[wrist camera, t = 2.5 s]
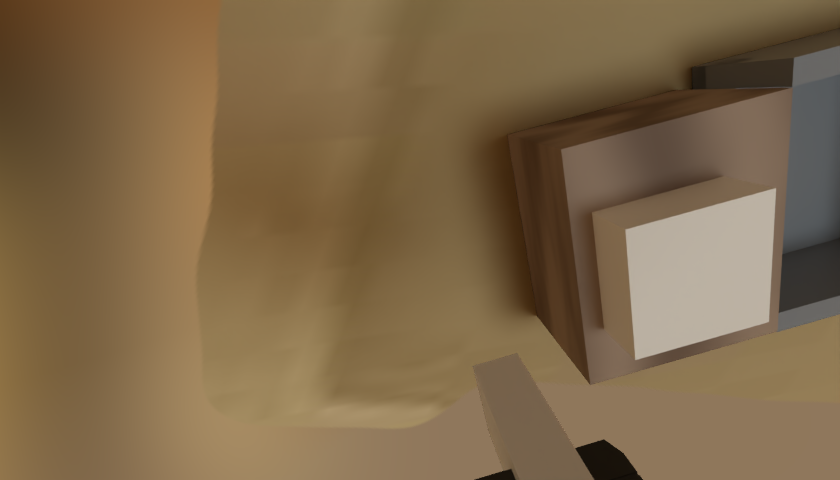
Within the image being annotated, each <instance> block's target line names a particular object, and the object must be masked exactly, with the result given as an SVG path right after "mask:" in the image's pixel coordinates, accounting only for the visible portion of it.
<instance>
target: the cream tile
mask: <svg viewBox="0 0 840 480" xmlns="http://www.w3.org/2000/svg"><path fill="white" fill-rule="evenodd" d="M775 200H776V188H773V187H769V186H765V185H760V184H756V183H751V182H747V181H742V180H738V179H733V178H729V177H724V176H723V177H719V178H715V179H712V180H708V181H704V182H701V183H697V184H693V185H690V186H686V187H682V188H679V189H675V190H671V191H668V192H664V193H660V194H657V195H653V196H649V197H646V198H642V199H638V200H635V201H631V202H628V203H624V204H620V205H617V206H613V207H609V208H606V209H602V210H598V211H595V212H592V218H593V228H594V237H595V247H596V257H597V266H598V276H599V285H600V295H601V305H602V314H603V324H604V330H605V331H606V332H607V333H608V334H609V335H610V336H611V337H612V338H613V339H614V340H615V341H616V342H617V343H618V344H619V345H620V346H621V347H623V348H624V349H625V350H626V351H627V352H628V353H629V354H630V355H631V356H632V357H633V358H634V359H635V360H638V359H641V358H645V357H648V356H652V355H655V354H659V353H662V352H666V351H669V350H673V349H676V348H680V347H683V346H687V345H690V344H694V343H697V342H701V341H704V340H708V339H711V338H715V337H718V336H722V335H725V334H729V333H732V332H736V331H739V330H743V329H746V328H750V327H753V326H757V325H760V324H764V323H767V322H769V310H770V292H771V273H772V255H773V237H774V218H775Z"/></svg>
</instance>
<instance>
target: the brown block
mask: <svg viewBox="0 0 840 480" xmlns="http://www.w3.org/2000/svg"><path fill="white" fill-rule="evenodd" d="M792 93H793V88H745V89H697V90H674V91H670V92H666V93H662V94H659V95H655V96H651V97H647V98H643V99H640V100H636V101H632V102H628V103H625V104H621V105H617V106H613V107H610V108H606V109H602V110H598V111H594V112H591V113H587V114H583V115H579V116H576V117H572V118H568V119H564V120H560V121H557V122H553V123H549V124H545V125H542V126H538V127H534V128H530V129H527V130H523V131H519V132H515V133H511V134H508V135H507V137H508V143H509V149H510V155H511V161H512V167H513V173H514V179H515V185H516V191H517V197H518V203H519V209H520V215H521V221H522V227H523V233H524V239H525V245H526V251H527V257H528V263H529V269H530V275H531V281H532V287H533V293H534V299H535V305H536V311H537V317H538V318H539V319H540V320H541V322H542V323H543V324H544V326H545V327H546V328H547V329H548V331H549V332H550V333H551V335H552V336H553V337H554V339H555V340H556V341H557V342H558V344H559V345H560V346H561V348H562V349H563V350H564V351H565V353H566V354H567V355H568V357H569V358H570V359H571V361H572V362H573V363H574V364H575V366H576V367H577V368H578V370H579V371H580V372H581V373H582V375H583V376H584V377H585V379H586V380H587V381H588V383H589V384H590V385H592V384H595V383H599V382H602V381H606V380H609V379H613V378H616V377H620V376H623V375H626V374H630V373H633V372H637V371H640V370H644V369H647V368H651V367H654V366H658V365H661V364H665V363H668V362H672V361H675V360H679V359H682V358H686V357H689V356H693V355H696V354H700V353H703V352H707V351H710V350H714V349H717V348H721V347H724V346H728V345H731V344H735V343H738V342H742V341H745V340H749V339H752V338H756V337H759V336H763V335H766V334H770V333H773V332H777V330H778V314H779V299H780V283H781V267H782V251H783V235H784V219H785V204H786V188H787V172H788V156H789V140H790V124H791V109H792ZM723 176H724V177H729V178H733V179H738V180H742V181H747V182H751V183H756V184H760V185H765V186H769V187H773V188H776V200H775V218H774V237H773V255H772V273H771V292H770V310H769V322H767V323H764V324H760V325H757V326H753V327H750V328H746V329H743V330H739V331H736V332H732V333H729V334H725V335H722V336H718V337H715V338H711V339H708V340H704V341H701V342H697V343H694V344H690V345H687V346H683V347H680V348H676V349H673V350H669V351H666V352H662V353H659V354H655V355H652V356H648V357H645V358H641V359H638V360H635V359H634V358H633V357H632V356H631V355H630V354H629V353H628V352H627V351H626V350H625V349H624V348H623V347H621V346H620V345H619V344H618V343H617V342H616V341H615V340H614V339H613V338H612V337H611V336H610V335H609V334H608V333H607V332H606V331H605V330H604V324H603V314H602V305H601V295H600V285H599V276H598V266H597V257H596V247H595V237H594V228H593V218H592V212H595V211H598V210H602V209H606V208H609V207H613V206H617V205H620V204H624V203H628V202H631V201H635V200H638V199H642V198H646V197H649V196H653V195H657V194H660V193H664V192H668V191H671V190H675V189H679V188H682V187H686V186H690V185H693V184H697V183H701V182H704V181H708V180H712V179H715V178H719V177H723Z"/></svg>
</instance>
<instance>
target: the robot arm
mask: <svg viewBox="0 0 840 480" xmlns="http://www.w3.org/2000/svg"><path fill="white" fill-rule="evenodd" d="M473 369H474V373H475V377H476V381H477V386H478V390H479V394H480V398H481V401H482V406H483V411H484V415H485V419H486V423H487V427H488V431H489V434H490V436H491V439H492V442H493V444H494V447H495V450H496V452H497V455H498V457H499V460H500V463H501V465H502V468H503V471H502V472H499V473H495V474H492V475H489V476H485V477H482V478H479V479H476V480H643V479H642V478H641V477H640V476H639V475H638V474H637V471H636V470H635V468H634V467H633V466H632V464H631V463H630V462H629V460H628V459H627V458H626V456H625V455H624V453H622V452H621V451H620V450H618V449H617V448H615V447H614V446H613V445H611V444H610V443H608V442H607V441H605V440H601V441H597V442H594V443H591V444H587V445H584V446H581V447H577V448H574V446H573V444H572V443H571V441H570V439H569V438H568V436H567V434H566V433H565V431H564V429H563V428H562V426H561V424H560V423H559V421H558V419H557V418H556V416H555V415H554V413H553V411H552V410H551V408H550V406H549V405H548V403H547V401H546V400H545V398H544V396H543V395H542V394H541V391H540V390H539V388H538V387H537V385H536V383H535V382H534V380H533V378H532V377H531V375H530V373H529V372H528V370H527V368H526V367H525V365H524V364H523V362H522V360H521V359H520V357H519V355H518V354H517V353H516V354H513V355H509V356H506V357H502V358H499V359H495V360H492V361H488V362H485V363H481V364H478V365H475V366H473Z"/></svg>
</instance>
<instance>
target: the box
mask: <svg viewBox="0 0 840 480" xmlns="http://www.w3.org/2000/svg"><path fill="white" fill-rule="evenodd" d="M745 88H793V93H792V109H791V124H790V140H789V156H788V172H787V188H786V204H785V219H784V235H783V251H782V267H781V283H780V299H779V314H778V330H777V332H779V331H782V330H786V329H789V328H793V327H796V326H800V325H803V324H807V323H810V322H814V321H817V320H821V319H824V318H828V317H831V316H835V315H838V314H840V28H838V29H835V30H831V31H827V32H823V33H819V34H816V35H812V36H808V37H804V38H801V39H797V40H793V41H789V42H785V43H782V44H778V45H774V46H770V47H766V48H763V49H759V50H755V51H751V52H747V53H744V54H740V55H736V56H732V57H728V58H725V59H721V60H717V61H713V62H709V63H706V64H702V65H698V66H694V67H692V90H697V89H745Z"/></svg>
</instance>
